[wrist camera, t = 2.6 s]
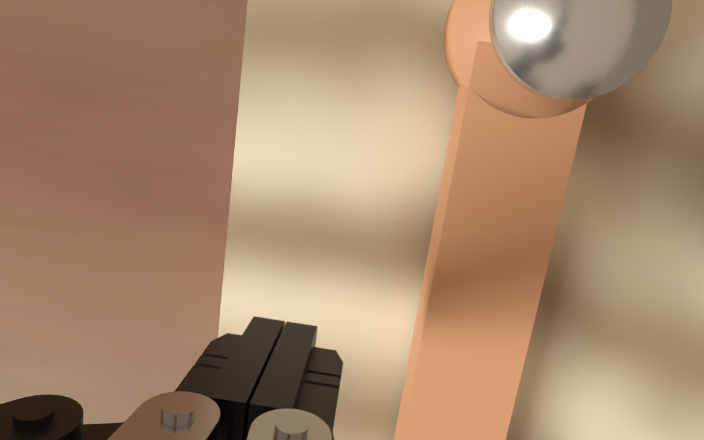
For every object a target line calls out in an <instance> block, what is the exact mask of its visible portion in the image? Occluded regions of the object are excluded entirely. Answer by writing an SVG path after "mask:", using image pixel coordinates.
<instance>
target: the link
mask: <svg viewBox="0 0 704 440" xmlns="http://www.w3.org/2000/svg"><path fill="white" fill-rule="evenodd" d="M490 3H491V0H453V2H452V4H451V6H450V9H449V12H448V15H447V18H446V22H445V27H444V36H443V41H444V54H445V59H446V63H447V66H448V69H449V71H450V74H451V76H452V78H453V80H454V81H455V83H456V85H457V86H458V93H457V98H456V103H455V109H454V114H453V120H452V125H451V131H450V136H449V141H448V147H447V152H446V158H445V163H444V169H443V174H442V180H441V185H440V190H439V196H438V201H437V207H436V212H435V218H434V223H433V229H432V234H431V239H430V245H429V250H428V256H427V261H426V267H425V272H424V278H423V283H422V288H421V294H420V299H419V305H418V310H417V316H416V321H415V327H414V332H413V337H412V343H411V348H410V354H409V359H408V365H407V370H406V375H405V381H404V386H403V392H402V397H401V403H400V408H399V414H398V419H397V424H396V430H395V435H394V440H506V437H507V432H508V428H509V424H510V420H511V416H512V412H513V408H514V403H515V399H516V395H517V391H518V387H519V383H520V379H521V375H522V370H523V366H524V362H525V358H526V354H527V350H528V346H529V341H530V337H531V333H532V329H533V325H534V321H535V317H536V312H537V308H538V304H539V300H540V296H541V292H542V288H543V283H544V279H545V275H546V271H547V267H548V263H549V259H550V255H551V250H552V246H553V242H554V238H555V234H556V230H557V226H558V221H559V217H560V213H561V209H562V205H563V201H564V197H565V192H566V188H567V184H568V180H569V176H570V172H571V168H572V164H573V159H574V155H575V151H576V147H577V143H578V139H579V135H580V130H581V126H582V122H583V118H584V114H585V110H586V106H587V103H588V102H589V101H591V100H592V99H593V98H595V97H591V98H585V99H555V98H549V97H544V96H541V95H538V94H536V93H533V92H531V91H529V90H527V89H525V88H524V87H522V86H521V85H520V84H518V83H517V82H516V81H515V80H514V79H512V78H511V77H510V76H509V75H508V73H507V72H506V71H505V70H504V68H503V67H502V65H501V64H500V62H499V60H498V58H497V56H496V54H495V51H494V49H493V46H492V42H491V38H490V31H489V10H490Z"/></svg>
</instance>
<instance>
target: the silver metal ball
mask: <svg viewBox="0 0 704 440" xmlns="http://www.w3.org/2000/svg"><path fill="white" fill-rule="evenodd" d="M672 1H673V0H491V3H490V10H489V31H490V38H491V42H492V46H493V49H494V51H495V54H496V56H497V58H498V60H499V62H500V64H501V65H502V67H503V68H504V70H505V71H506V72H507V73H508V75H509V76H510V77H511V78H512V79H514V80H515V81H516V82H517V83H518V84H520V85H521V86H522V87H524V88H525V89H527V90H529V91H531V92H533V93H536V94H538V95H541V96H544V97H549V98H555V99H585V98H591V97H596V96H599V95H602V94H605V93H608V92H610V91H612V90H614V89H617V88H618V87H620V86H622V85H623V84H625V83H627V82H628V81H629V80H631V79H632V78H633V77H634V76H636V75H637V74H638V73H639V72H640V71H641V70H642V69H643V68H644V67H645V66H646V65H647V64H648V62H649V61H650V60H651V59H652V57H653V56H654V55H655V53H656V51H657V50H658V48H659V47H660V45H661V43H662V41H663V38H664V36H665V34H666V31H667V28H668V25H669V22H670V17H671V12H672Z"/></svg>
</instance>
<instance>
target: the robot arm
mask: <svg viewBox="0 0 704 440" xmlns="http://www.w3.org/2000/svg"><path fill="white" fill-rule="evenodd" d="M316 338H317V326H313V325H307V324H301V323H294V322H288V321H287V322H286V324H285V321H281V320H275V319H269V318H262V317H256V316H254V317H253V318H252V320H251V321H250V323H249V325H248V326H247V328H246V329H245V331H244V333H243V334H242V335H237V334H230V333H226V334H225V335H223V336H221V337H219V338H217V339H215V340H213V341H211V342H210V344H209V345H208V346H207V348H206V349H205V351H204V352H203V354H202V355H201V356H200V357H199V359H198V360H197V362H196V364H195V365H194V366H193V367H192V368H191V370H190V371H189V372H188V374H187V375H186V377H185V378H184V379H183V381H182V382H181V383H180V385H179V386H178V387H177V389H176V390H175V392H169V393H164V394H160V395H157V396H155V397H152V398H150V399H148V400H147V401H145V402H144V403H143V404H142V405H140V406H139V407H138V408H137V409H136V410H135V412H134V413H133V414H132V415H131V416H130V417H129V418H128V419H127V420H126V421H125V422H122V423H107V424H85V425H83V408H82V407H81V405H80V404H79V403H78V402H77V401H75V400H73V399H71V398H68V397H65V396H60V395H35V396H29V397H25V398H21V399H17V400H13V401H10V402H7V403H3V404H0V440H334V436H333V427H334V420H335V414H336V407H337V401H338V394H339V388H340V381H341V374H342V368H343V361H342V360H341V358H340V356H339V355H338V353H337V351H336V350H331V349H325V348H318V347H315V345H316Z"/></svg>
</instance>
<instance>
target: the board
mask: <svg viewBox="0 0 704 440" xmlns="http://www.w3.org/2000/svg"><path fill="white" fill-rule="evenodd" d="M452 2H453V0H248V4H247V16H246V27H245V38H244V50H243V61H242V72H241V84H240V95H239V106H238V118H237V129H236V140H235V152H234V163H233V174H232V185H231V197H230V208H229V219H228V231H227V242H226V253H225V265H224V276H223V287H222V299H221V310H220V321H219V333H218V338H219V337H221V336H223V335H225V334H226V333H230V334H237V335H242V334H243V333H244V331H245V329H246V328H247V326H248V325H249V323H250V321H251V320H252V318H253V317H254V316H256V317H262V318H269V319H275V320H281V321H285V324H286V322H287V321H288V322H294V323H301V324H307V325H313V326H317V338H316V345H315V347H318V348H325V349H331V350H336V351H337V353H338V355H339V356H340V358H341V360H342V361H343V368H342V374H341V381H340V388H339V394H338V401H337V407H336V414H335V420H334V427H333V436H334V440H394V435H395V430H396V424H397V419H398V414H399V408H400V403H401V397H402V392H403V386H404V381H405V375H406V370H407V365H408V359H409V354H410V348H411V343H412V337H413V332H414V327H415V321H416V316H417V310H418V305H419V299H420V294H421V288H422V283H423V278H424V272H425V267H426V261H427V256H428V250H429V245H430V239H431V234H432V229H433V223H434V218H435V212H436V207H437V201H438V196H439V190H440V185H441V180H442V174H443V169H444V163H445V158H446V152H447V147H448V141H449V136H450V131H451V125H452V120H453V114H454V109H455V103H456V98H457V93H458V86H457V85H456V83H455V81H454V80H453V78H452V76H451V74H450V71H449V69H448V66H447V63H446V59H445V54H444V41H443V36H444V27H445V22H446V18H447V15H448V12H449V9H450V6H451V4H452ZM506 440H704V0H673V1H672V12H671V17H670V22H669V25H668V28H667V31H666V34H665V36H664V38H663V41H662V43H661V45H660V47H659V48H658V50H657V51H656V53H655V55H654V56H653V57H652V59H651V60H650V61H649V62H648V64H647V65H646V66H645V67H644V68H643V69H642V70H641V71H640V72H639V73H638V74H637V75H636V76H634V77H633V78H632V79H631V80H629V81H628V82H627V83H625V84H623V85H622V86H620V87H618V88H617V89H614V90H612V91H610V92H608V93H605V94H602V95H599V96H596V97H595V98H593V99H592V100H591V101H589V102H588V103H587V106H586V110H585V114H584V118H583V122H582V126H581V130H580V135H579V139H578V143H577V147H576V151H575V155H574V159H573V164H572V168H571V172H570V176H569V180H568V184H567V188H566V192H565V197H564V201H563V205H562V209H561V213H560V217H559V221H558V226H557V230H556V234H555V238H554V242H553V246H552V250H551V255H550V259H549V263H548V267H547V271H546V275H545V279H544V283H543V288H542V292H541V296H540V300H539V304H538V308H537V312H536V317H535V321H534V325H533V329H532V333H531V337H530V341H529V346H528V350H527V354H526V358H525V362H524V366H523V370H522V375H521V379H520V383H519V387H518V391H517V395H516V399H515V403H514V408H513V412H512V416H511V420H510V424H509V428H508V432H507V437H506Z"/></svg>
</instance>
